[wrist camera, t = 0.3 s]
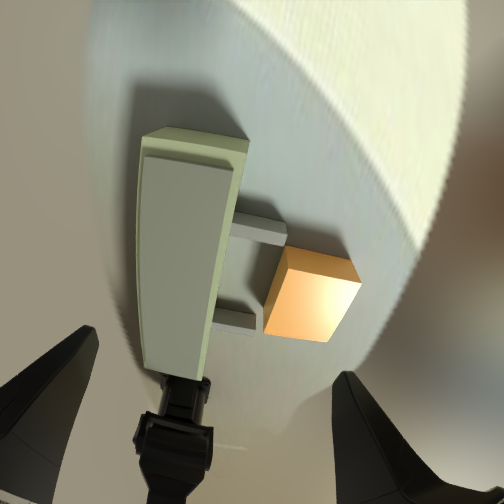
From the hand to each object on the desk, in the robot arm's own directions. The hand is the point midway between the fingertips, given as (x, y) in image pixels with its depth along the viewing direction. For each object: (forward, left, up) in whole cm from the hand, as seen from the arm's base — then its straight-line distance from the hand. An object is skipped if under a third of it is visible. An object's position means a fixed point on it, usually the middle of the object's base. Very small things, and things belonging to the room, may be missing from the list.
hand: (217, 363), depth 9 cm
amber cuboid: (-6, -7, -14) cm, 17 cm away
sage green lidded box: (-6, +1, -14) cm, 15 cm away
